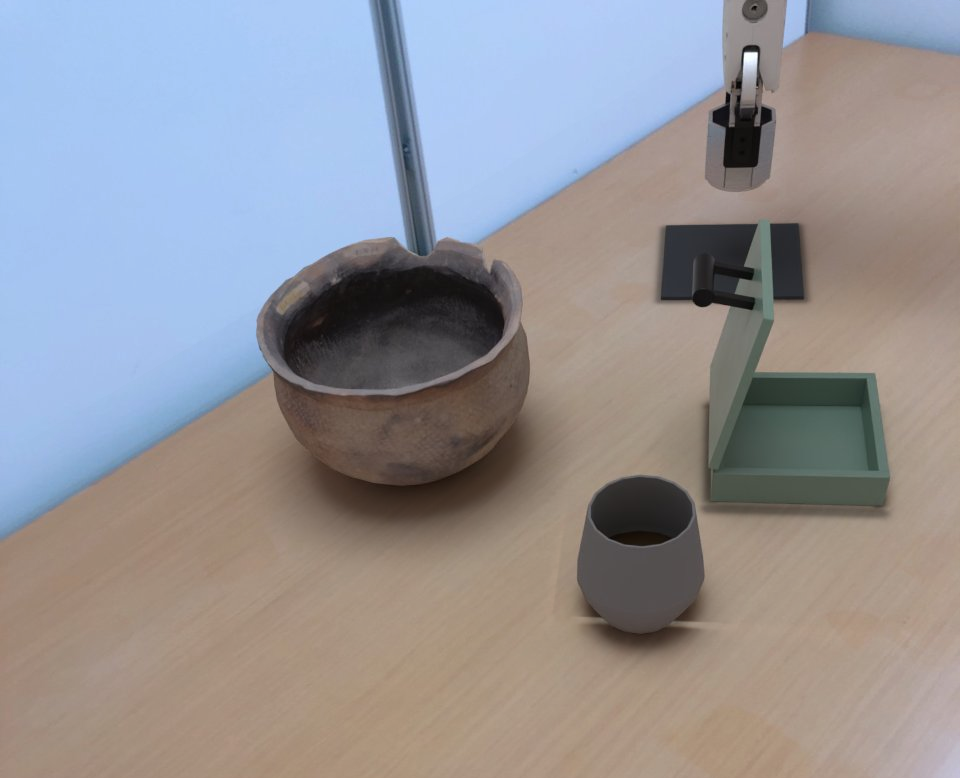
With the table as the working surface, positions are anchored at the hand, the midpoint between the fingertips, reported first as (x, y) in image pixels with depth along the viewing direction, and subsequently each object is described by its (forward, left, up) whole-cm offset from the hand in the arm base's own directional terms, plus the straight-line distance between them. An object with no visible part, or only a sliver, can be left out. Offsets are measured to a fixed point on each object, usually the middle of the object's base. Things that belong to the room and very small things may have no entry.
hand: (740, 146), depth 105 cm
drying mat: (0, 0, -12) cm, 12 cm away
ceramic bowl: (+28, +31, -12) cm, 44 cm away
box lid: (0, +31, -1) cm, 31 cm away
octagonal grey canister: (0, 0, -3) cm, 3 cm away
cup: (+7, +49, -12) cm, 51 cm away
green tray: (-5, +31, -12) cm, 34 cm away
